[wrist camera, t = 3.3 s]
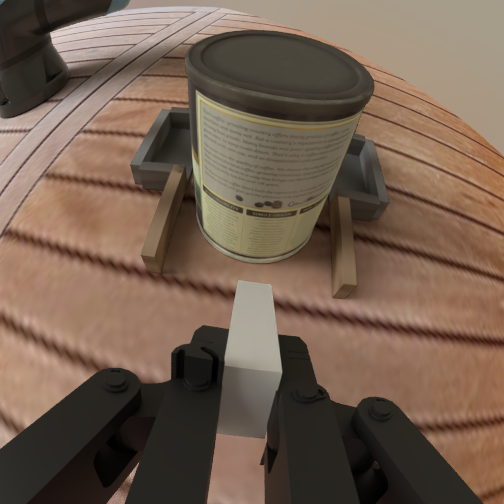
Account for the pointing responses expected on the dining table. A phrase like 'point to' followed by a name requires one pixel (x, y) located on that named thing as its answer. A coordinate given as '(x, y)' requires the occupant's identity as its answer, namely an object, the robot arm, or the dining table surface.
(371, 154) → the box
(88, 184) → the dining table surface
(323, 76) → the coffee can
